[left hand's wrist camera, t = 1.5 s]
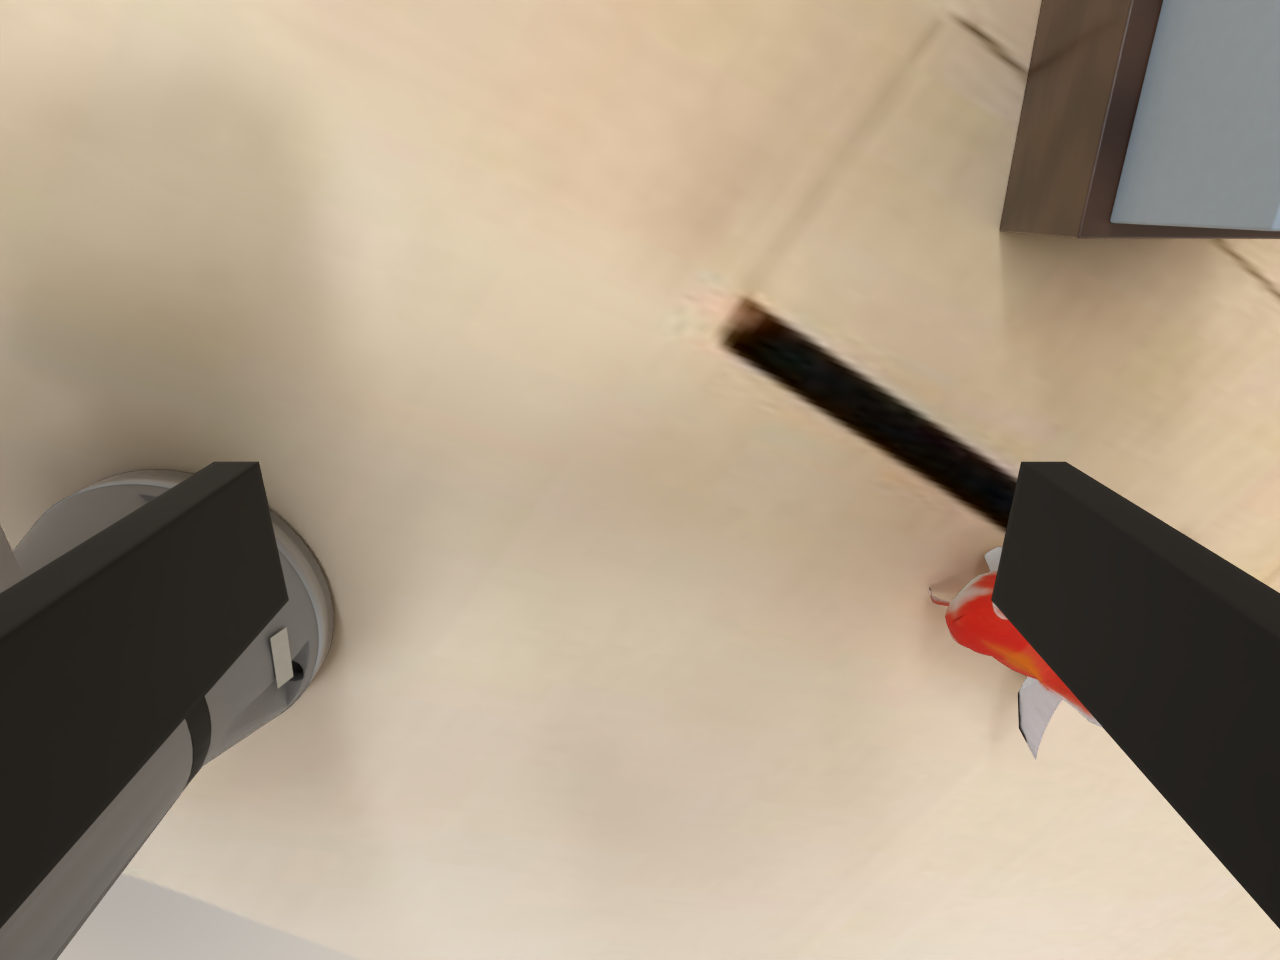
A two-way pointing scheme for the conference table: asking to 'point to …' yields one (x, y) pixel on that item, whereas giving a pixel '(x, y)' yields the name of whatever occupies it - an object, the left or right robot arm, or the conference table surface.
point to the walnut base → (1085, 123)
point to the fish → (1008, 652)
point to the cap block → (1207, 120)
